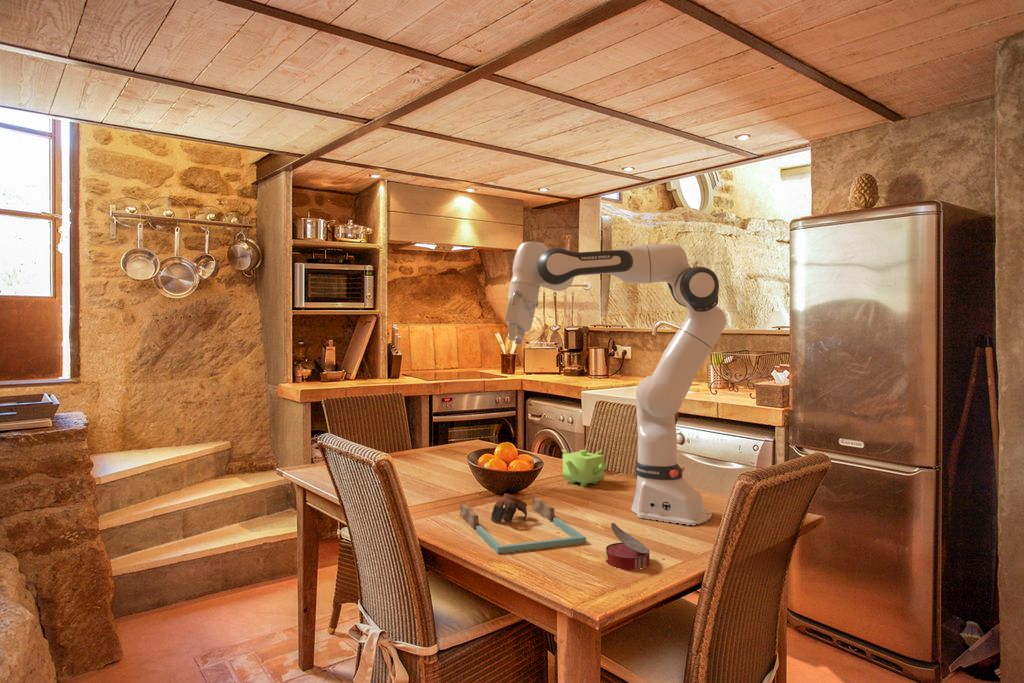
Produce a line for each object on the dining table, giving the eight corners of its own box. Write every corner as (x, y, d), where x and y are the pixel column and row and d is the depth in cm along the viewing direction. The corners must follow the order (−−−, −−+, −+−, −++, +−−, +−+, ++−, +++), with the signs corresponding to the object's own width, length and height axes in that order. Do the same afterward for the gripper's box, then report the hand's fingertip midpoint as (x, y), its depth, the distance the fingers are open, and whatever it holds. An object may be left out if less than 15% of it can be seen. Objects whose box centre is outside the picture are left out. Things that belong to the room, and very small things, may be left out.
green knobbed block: (560, 477, 231) (561, 445, 231) (601, 478, 231) (601, 446, 231) (563, 488, 216) (564, 454, 216) (606, 488, 216) (607, 454, 216)
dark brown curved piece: (486, 517, 185) (499, 490, 187) (517, 533, 184) (529, 505, 187) (489, 519, 173) (503, 490, 175) (521, 535, 173) (535, 506, 175)
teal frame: (476, 531, 170) (476, 526, 170) (557, 523, 178) (557, 517, 178) (497, 553, 154) (497, 547, 154) (585, 543, 162) (586, 537, 162)
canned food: (619, 574, 155) (629, 532, 159) (654, 582, 147) (664, 538, 151) (589, 561, 149) (600, 517, 152) (624, 569, 141) (635, 523, 145)
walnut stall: (460, 515, 184) (460, 503, 184) (536, 508, 192) (536, 496, 192) (473, 529, 172) (474, 516, 172) (554, 521, 180) (554, 508, 180)
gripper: (526, 290, 181) (518, 339, 179) (539, 303, 200) (531, 348, 199) (504, 287, 182) (495, 336, 181) (519, 300, 202) (511, 345, 201)
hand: (514, 342), depth 190 cm, fingers open, 8 cm apart
